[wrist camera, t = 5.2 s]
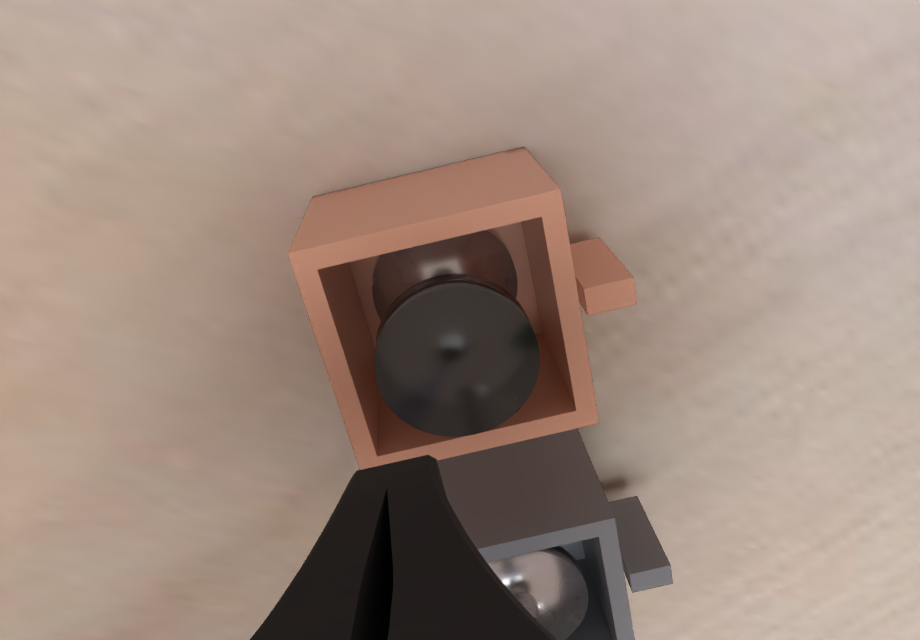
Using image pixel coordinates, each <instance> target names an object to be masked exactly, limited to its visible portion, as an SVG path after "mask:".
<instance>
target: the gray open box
mask: <svg viewBox="0 0 920 640" xmlns="http://www.w3.org/2000/svg"><path fill="white" fill-rule="evenodd" d="M437 463H438V467H439V470H440V474H441V478H442V481H443V485H444V489H445V492H446V496H447V498H448V501H449V503H450V505H451V506H452V508H453V510H454V512H455V514H456V516H457V517H458V519H459V521H460V522H461V524H462V526H463V528H464V529H465V531H466V533H467V534H468V536H469V537H470V539H471V540H472V542H473V544H474V545H475V546H476V548H477V549H478V551H479V552H480V554H481V555H482V556H483V558H484V559H485V561H486V562H490V561H494V560H499V559H503V558H508V557H512V556H516V555H521V554H525V553H530V552H534V551H538V550H543V549H547V548H552V547H556V546H561V547H563V548H564V549H565V550H567V551H568V552H569V553H570V554H571V555H572V556H573V557H574V558H575V560H576V561H577V562H578V564H579V566H580V568H581V571H582V574H583V577H584V580H585V583H586V587H587V590H588V606H587V611H586V613H585V616H584V618H583V620H582V622H581V623H580V625H579V626H578V627H577V629H576V630H575V631H574V632H573V633H572V634H571V635H570V636H569V637H568V638H566V639H565V640H635V638H634V632H633V625H632V619H631V613H630V607H629V601H628V595H627V589H626V583H625V577H624V573H625V575H626V578H627V580H628V583H629V585H630V588H631V590H632V593H633V592H638V591H642V590H647V589H651V588H655V587H660V586H664V585H669V584H673V580H672V572H671V565H670V563H669V561H668V559H667V557H666V555H665V553H664V551H663V548H662V546H661V544H660V542H659V540H658V538H657V536H656V534H655V532H654V530H653V528H652V526H651V524H650V522H649V520H648V517H647V515H646V513H645V511H644V509H643V507H642V505H641V503H640V501H639V499H638V497H637V496H634V497H630V498H625V499H621V500H617V501H612V502H608V501H607V498H606V496H605V493H604V491H603V489H602V486H601V484H600V481H599V479H598V477H597V474H596V472H595V470H594V467H593V465H592V462H591V460H590V458H589V455H588V453H587V451H586V448H585V446H584V443H583V441H582V439H581V436H580V434H579V432H578V429H577V428H576V429H572V430H568V431H563V432H559V433H555V434H550V435H546V436H541V437H537V438H533V439H528V440H524V441H520V442H515V443H511V444H507V445H502V446H498V447H494V448H489V449H485V450H481V451H476V452H472V453H468V454H463V455H459V456H455V457H450V458H446V459H441V460H437ZM623 570H624V571H623Z"/></svg>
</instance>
